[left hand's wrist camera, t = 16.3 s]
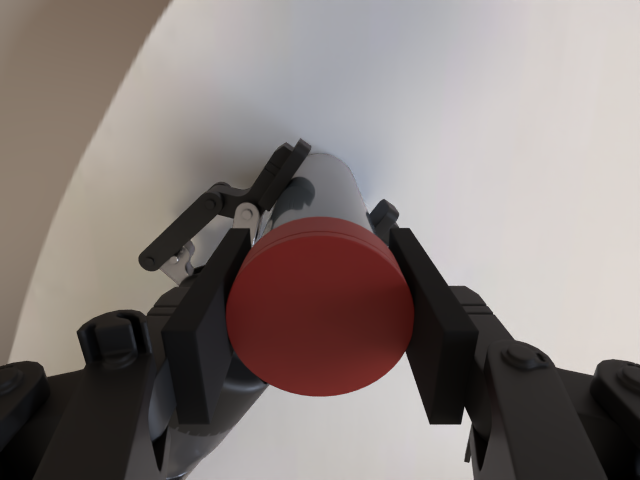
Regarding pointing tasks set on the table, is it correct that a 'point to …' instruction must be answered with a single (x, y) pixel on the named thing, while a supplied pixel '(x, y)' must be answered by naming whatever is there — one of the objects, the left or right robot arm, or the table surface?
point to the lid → (320, 308)
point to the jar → (321, 194)
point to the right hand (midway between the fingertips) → (348, 176)
